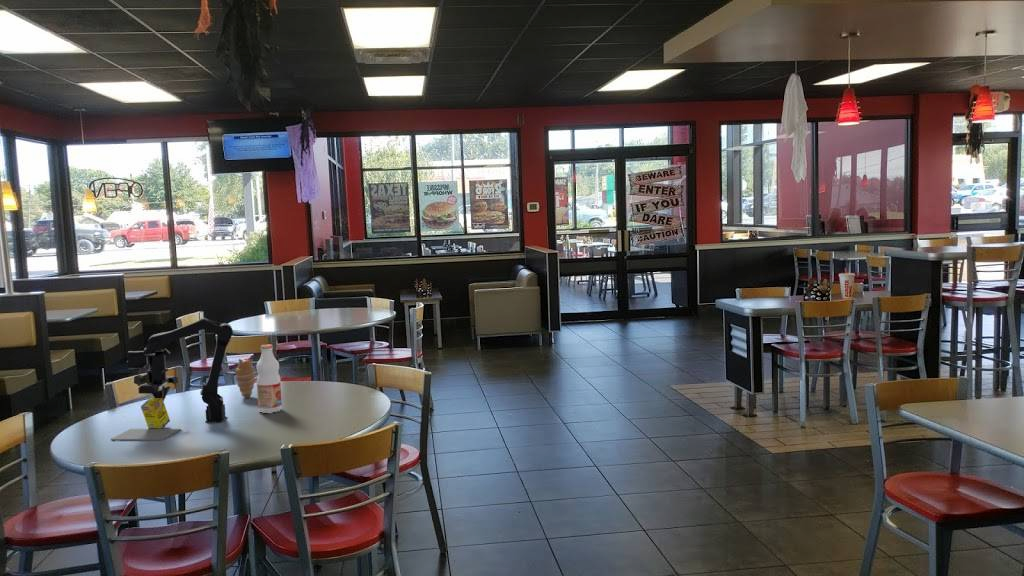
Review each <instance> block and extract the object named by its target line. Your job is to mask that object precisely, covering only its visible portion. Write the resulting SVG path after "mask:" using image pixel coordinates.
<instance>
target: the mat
mask: <svg viewBox="0 0 1024 576" xmlns="http://www.w3.org/2000/svg"><path fill="white" fill-rule="evenodd" d="M178 431H179V432H180V431H182V430H181V428H163V429H148V428H130V429H128V430H125V431H124V432H122V433H120V434H118V435H116V436H114V437H112V438H110V441H111V440H131V441H132V442H133V441H136V442H137V441H142V442H143V441H147V442H148V441H149V442H150V441H154V442H155V441H158V442H159V441H162V442H163V441H165V440H166V439H168V438H170V437H172V436H174V435H175V434H177V433H178ZM173 434H174V435H173Z"/></svg>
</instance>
